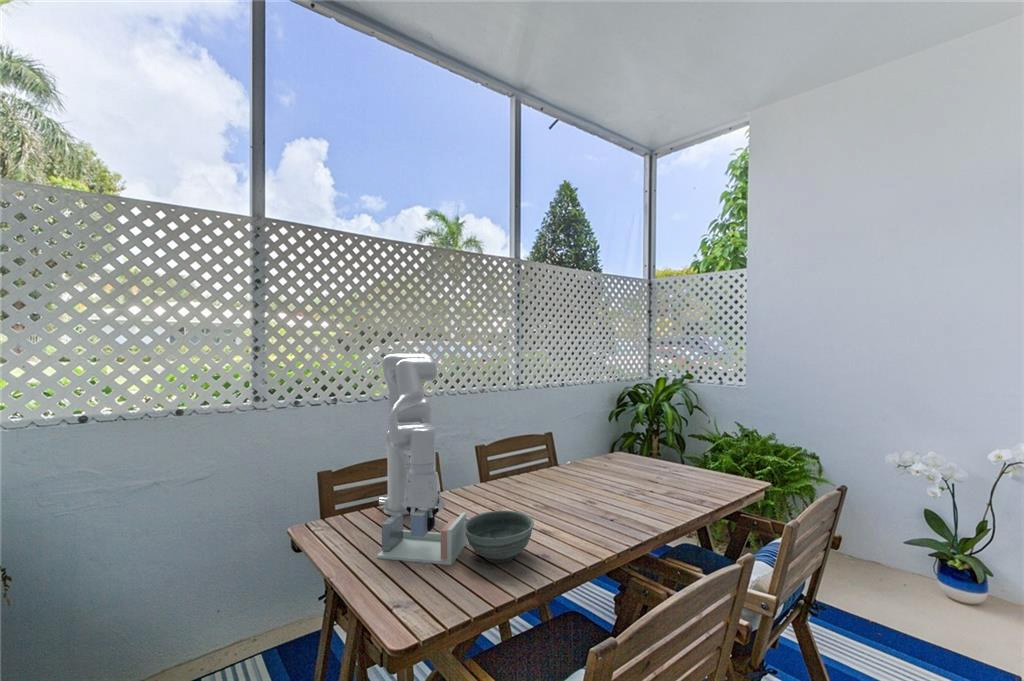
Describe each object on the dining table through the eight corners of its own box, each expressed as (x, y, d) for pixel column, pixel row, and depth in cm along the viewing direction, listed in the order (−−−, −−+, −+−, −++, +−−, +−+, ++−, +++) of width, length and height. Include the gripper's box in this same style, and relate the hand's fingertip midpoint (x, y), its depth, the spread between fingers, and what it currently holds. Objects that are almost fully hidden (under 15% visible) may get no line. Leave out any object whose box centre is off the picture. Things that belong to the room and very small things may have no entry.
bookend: (381, 550, 132) (381, 523, 132) (395, 538, 141) (395, 512, 141) (389, 551, 132) (389, 524, 132) (402, 538, 140) (402, 513, 141)
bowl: (544, 567, 123) (544, 531, 124) (471, 578, 117) (470, 540, 118) (521, 537, 143) (521, 506, 144) (458, 546, 137) (457, 513, 138)
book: (410, 535, 130) (410, 514, 130) (423, 524, 139) (422, 504, 139) (423, 536, 129) (423, 515, 130) (435, 525, 138) (434, 505, 138)
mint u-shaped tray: (376, 558, 130) (376, 524, 130) (398, 538, 143) (398, 507, 144) (451, 565, 125) (451, 530, 125) (466, 544, 139) (466, 512, 139)
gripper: (391, 470, 133) (392, 532, 132) (444, 472, 129) (445, 536, 129) (403, 464, 140) (403, 522, 139) (453, 466, 137) (453, 526, 136)
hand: (423, 528), depth 134 cm, fingers closed on book, 4 cm apart
